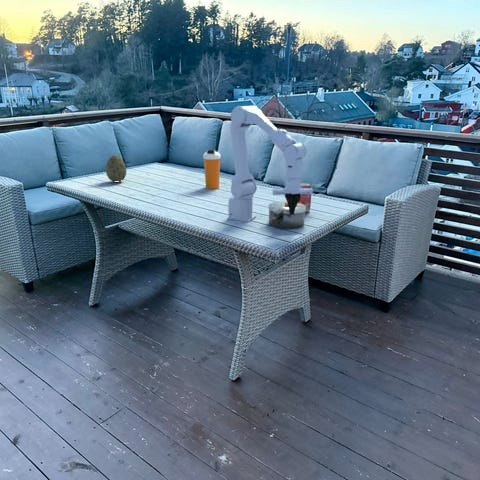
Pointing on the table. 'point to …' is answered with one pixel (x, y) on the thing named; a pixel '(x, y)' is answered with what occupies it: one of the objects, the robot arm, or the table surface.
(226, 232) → the table surface
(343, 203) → the table surface
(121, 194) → the table surface
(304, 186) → the soda can
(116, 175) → the decorative egg
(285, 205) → the lid
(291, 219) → the cooker pot
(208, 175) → the shaker bottle
